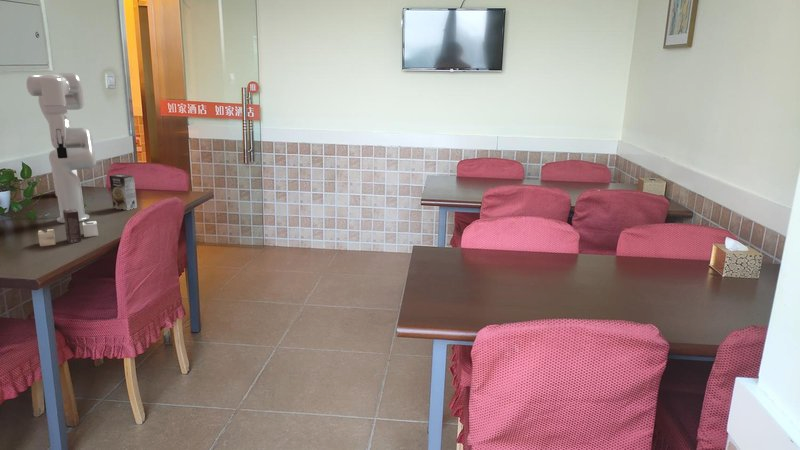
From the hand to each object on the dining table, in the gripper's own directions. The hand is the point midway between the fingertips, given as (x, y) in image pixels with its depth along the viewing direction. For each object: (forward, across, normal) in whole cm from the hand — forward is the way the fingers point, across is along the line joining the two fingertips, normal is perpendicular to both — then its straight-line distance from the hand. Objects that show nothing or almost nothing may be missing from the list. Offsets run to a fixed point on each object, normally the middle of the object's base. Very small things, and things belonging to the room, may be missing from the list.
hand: (62, 157), depth 226 cm
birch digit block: (+31, +10, -9) cm, 34 cm away
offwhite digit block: (+31, +4, +6) cm, 32 cm away
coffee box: (+31, -39, +22) cm, 55 cm away
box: (+31, +10, 0) cm, 33 cm away
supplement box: (+31, -87, -2) cm, 93 cm away
